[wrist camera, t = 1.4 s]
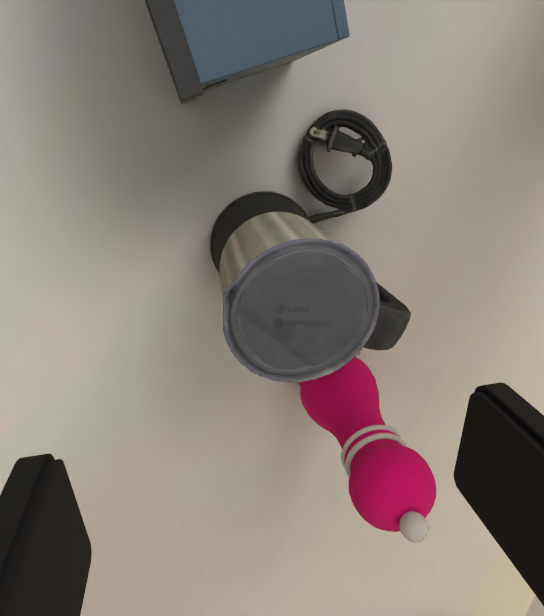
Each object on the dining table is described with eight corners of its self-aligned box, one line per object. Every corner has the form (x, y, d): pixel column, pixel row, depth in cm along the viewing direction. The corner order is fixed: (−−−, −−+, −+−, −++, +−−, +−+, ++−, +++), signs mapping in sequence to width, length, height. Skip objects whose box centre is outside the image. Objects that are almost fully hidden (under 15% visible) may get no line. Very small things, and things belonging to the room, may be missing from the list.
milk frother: (206, 292, 38) (220, 388, 25) (210, 97, 32) (230, 89, 18) (354, 291, 41) (436, 378, 28) (385, 114, 34) (511, 116, 21)
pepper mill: (320, 323, 42) (423, 481, 24) (370, 355, 44) (495, 517, 27) (276, 376, 43) (342, 561, 26) (327, 404, 46) (418, 587, 28)
